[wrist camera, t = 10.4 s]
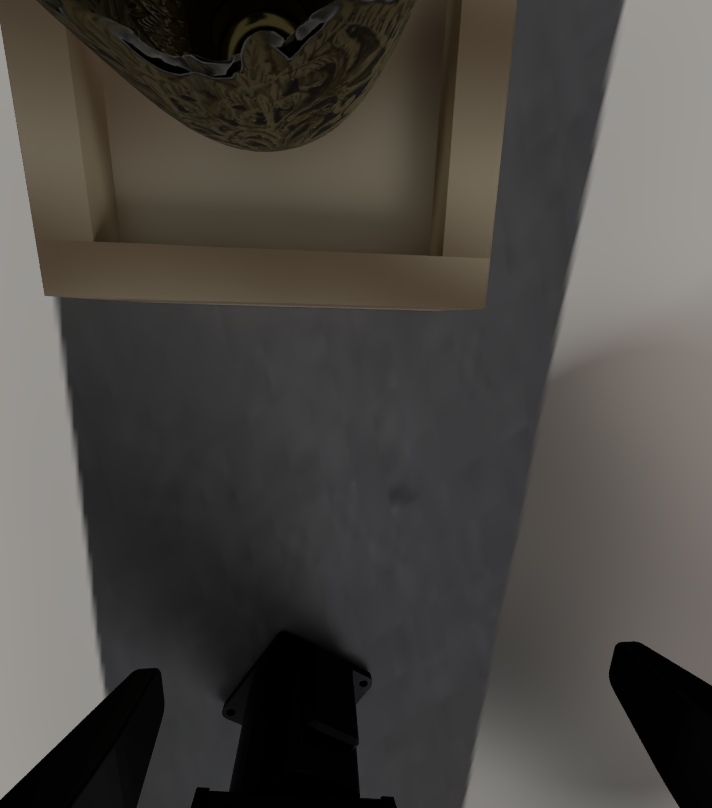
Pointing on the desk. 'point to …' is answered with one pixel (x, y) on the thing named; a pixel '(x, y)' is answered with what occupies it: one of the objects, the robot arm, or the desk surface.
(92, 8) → the cup
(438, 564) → the desk surface
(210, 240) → the wooden box
